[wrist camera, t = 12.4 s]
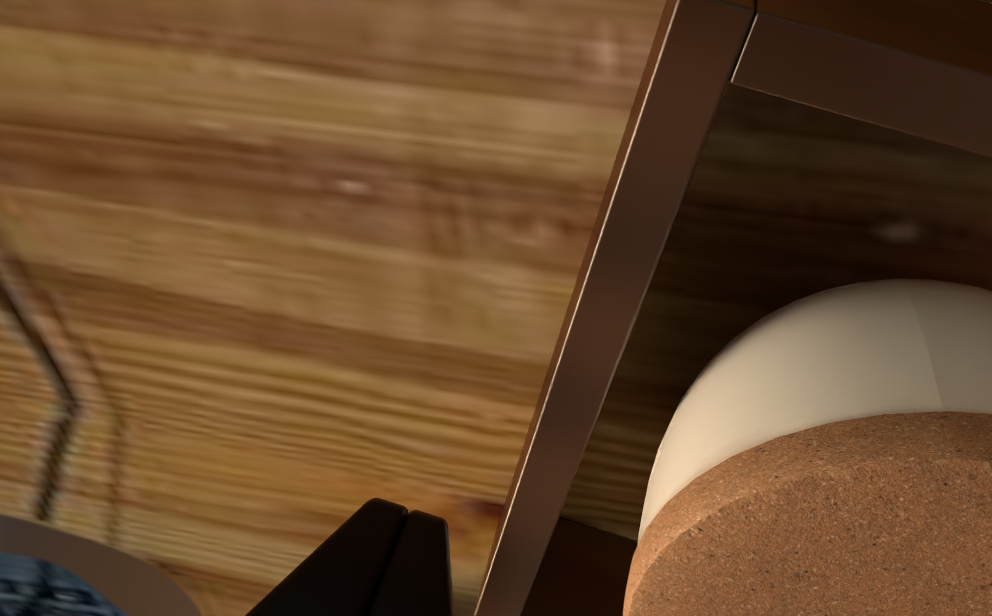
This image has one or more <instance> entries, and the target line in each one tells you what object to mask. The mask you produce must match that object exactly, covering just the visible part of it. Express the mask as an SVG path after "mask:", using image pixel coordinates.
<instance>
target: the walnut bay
mask: <svg viewBox="0 0 992 616" xmlns="http://www.w3.org/2000/svg"><path fill="white" fill-rule="evenodd" d="M729 80H730V83H732V84H734V85H738V86H741V87H745V88H748V89H752V90H755V91H759V92H763V93H766V94H770V95H773V96H777V97H780V98H784V99H787V100H791V101H794V102H798V103H802V104H805V105H809V106H812V107H816V108H819V109H823V110H826V111H830V112H833V113H837V114H841V115H844V116H848V117H851V118H855V119H858V120H862V121H865V122H869V123H872V124H876V125H880V126H883V127H887V128H890V129H894V130H897V131H901V132H904V133H908V134H911V135H915V136H919V137H922V138H926V139H929V140H933V141H936V142H940V143H943V144H947V145H950V146H954V147H958V148H961V149H965V150H968V151H972V152H975V153H979V154H982V155H986V156H989V157H992V4H988V3H985V2H981V1H977V0H667V1H666V5H665V8H664V11H663V14H662V17H661V20H660V23H659V26H658V29H657V33H656V36H655V39H654V42H653V45H652V48H651V51H650V54H649V57H648V60H647V64H646V67H645V70H644V73H643V76H642V79H641V82H640V85H639V88H638V92H637V95H636V98H635V101H634V104H633V107H632V110H631V113H630V116H629V120H628V123H627V126H626V129H625V132H624V135H623V138H622V141H621V144H620V147H619V151H618V154H617V157H616V160H615V163H614V166H613V169H612V172H611V175H610V179H609V182H608V185H607V188H606V191H605V194H604V197H603V200H602V203H601V207H600V210H599V213H598V216H597V219H596V222H595V225H594V228H593V231H592V235H591V238H590V241H589V244H588V247H587V250H586V253H585V256H584V259H583V262H582V266H581V269H580V272H579V275H578V278H577V281H576V284H575V287H574V290H573V294H572V297H571V300H570V303H569V306H568V309H567V312H566V315H565V318H564V322H563V325H562V328H561V331H560V334H559V337H558V340H557V343H556V346H555V349H554V353H553V356H552V359H551V362H550V365H549V368H548V371H547V374H546V377H545V381H544V384H543V387H542V390H541V393H540V396H539V399H538V402H537V405H536V409H535V412H534V415H533V418H532V421H531V424H530V427H529V430H528V433H527V436H526V440H525V443H524V446H523V449H522V452H521V455H520V458H519V461H518V464H517V468H516V471H515V474H514V477H513V480H512V483H511V486H510V489H509V492H508V496H507V499H506V502H505V505H504V508H503V511H502V514H501V517H500V520H499V524H498V527H497V531H496V534H495V538H494V541H493V545H492V548H491V552H490V556H489V559H488V563H487V566H486V570H485V574H484V577H483V581H482V584H481V588H480V592H479V595H478V599H477V602H476V606H475V609H474V613H473V616H623V608H624V599H625V592H626V587H627V582H628V577H629V572H630V567H631V562H632V558H633V554H634V552H635V550H636V548H637V544H638V542H635V541H632V540H628V539H625V538H622V537H619V536H616V535H612V534H609V533H606V532H603V531H599V530H596V529H593V528H590V527H587V526H583V525H580V524H577V523H574V522H571V521H567V520H564V519H561V518H559V516H560V514H561V511H562V509H563V506H564V504H565V501H566V498H567V496H568V493H569V491H570V488H571V486H572V483H573V480H574V478H575V475H576V473H577V470H578V468H579V465H580V463H581V460H582V457H583V455H584V452H585V450H586V447H587V445H588V442H589V439H590V437H591V434H592V432H593V429H594V427H595V424H596V421H597V419H598V416H599V414H600V411H601V409H602V406H603V403H604V401H605V398H606V396H607V393H608V391H609V388H610V386H611V383H612V380H613V378H614V375H615V373H616V370H617V368H618V365H619V362H620V360H621V357H622V355H623V352H624V350H625V347H626V344H627V342H628V339H629V337H630V334H631V332H632V329H633V326H634V324H635V321H636V319H637V316H638V314H639V311H640V309H641V306H642V303H643V301H644V298H645V296H646V293H647V291H648V288H649V285H650V283H651V280H652V278H653V275H654V273H655V270H656V267H657V265H658V262H659V260H660V257H661V255H662V252H663V250H664V247H665V244H666V242H667V239H668V237H669V234H670V232H671V229H672V226H673V224H674V221H675V219H676V216H677V214H678V211H679V208H680V206H681V203H682V201H683V198H684V196H685V193H686V190H687V188H688V185H689V183H690V180H691V178H692V175H693V173H694V170H695V167H696V165H697V162H698V160H699V157H700V155H701V152H702V149H703V147H704V144H705V142H706V139H707V137H708V134H709V131H710V129H711V126H712V124H713V121H714V119H715V116H716V113H717V111H718V108H719V106H720V103H721V101H722V98H723V96H724V93H725V90H726V88H727V85H728V83H729Z"/></svg>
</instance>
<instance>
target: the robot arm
mask: <svg viewBox="0 0 992 616" xmlns="http://www.w3.org/2000/svg"><path fill="white" fill-rule="evenodd" d="M245 616H454V609H453V594H452V579H451V564H450V549H449V534H448V525H447V522H446V521H445V520H444V519H443V518H441V517H438V516H434V515H431V514H428V513H425V512H422V511H418V510H414V511H411V512H410V513H409V514H408V509H407V508H406V507H404V506H402V505H399V504H396V503H393V502H390V501H387V500H383V499H380V498H373V499H371V500H369V501H368V502H366V503H365V504H364V505H363V506H362V507H361V508H360V509H359V510H358V511H356V512H355V513H354V514H353V515H352V516H351V517H350V518H349V519H348V520H347V521H346V522H345V523H344V524H343V525H342V526H340V527H339V528H338V529H337V530H336V531H335V532H334V533H333V534H332V535H331V536H330V537H329V538H328V539H327V540H325V541H324V542H323V543H322V544H321V545H320V546H319V547H318V548H317V549H316V550H315V551H314V552H313V553H312V554H311V555H309V556H308V557H307V558H306V559H305V560H304V561H303V562H302V563H301V564H300V565H299V566H298V567H297V568H296V569H294V570H293V571H292V572H291V573H290V574H289V575H288V576H287V577H286V578H285V579H284V580H283V581H282V582H281V583H280V584H278V585H277V586H276V587H275V588H274V589H273V590H272V591H271V592H270V593H269V594H268V595H267V596H266V597H265V598H263V599H262V600H261V601H260V602H259V603H258V604H257V605H256V606H255V607H254V608H253V609H252V610H251V611H250V612H249V613H247V614H246V615H245Z"/></svg>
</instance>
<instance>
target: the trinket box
mask: <svg viewBox="0 0 992 616" xmlns="http://www.w3.org/2000/svg"><path fill="white" fill-rule="evenodd" d="M623 616H992V291H990V290H986V289H983V288H979V287H975V286H970V285H966V284H959V283H952V282H945V281H938V280H931V279H887V280H877V281H866V282H859V283H854V284H849V285H845V286H840V287H836V288H831V289H827V290H824V291H821V292H818V293H815V294H812V295H809V296H807V297H804V298H801V299H798V300H795V301H793V302H791V303H789V304H787V305H785V306H783V307H781V308H779V309H778V310H776V311H774V312H772V313H770V314H768V315H766V316H765V317H763V318H762V319H760V320H758V321H757V322H756V323H754V324H753V325H751V326H750V327H748V328H747V329H746V330H744V331H743V332H741V333H740V334H738V335H737V336H736V337H734V338H733V339H731V340H730V341H729V342H728V343H727V344H726V345H725V346H724V347H723V348H722V349H721V350H720V351H719V352H718V353H717V354H716V355H715V356H714V357H713V358H712V359H711V360H710V361H709V362H708V364H707V365H706V366H705V367H704V369H703V370H702V371H701V372H700V374H699V375H698V376H697V378H696V379H695V380H694V382H693V383H692V384H691V386H690V387H689V389H688V390H687V391H686V393H685V394H684V396H683V397H682V398H681V401H680V403H679V405H678V407H677V409H676V411H675V414H674V416H673V418H672V420H671V422H670V424H669V427H668V429H667V431H666V433H665V435H664V438H663V440H662V442H661V444H660V446H659V449H658V452H657V455H656V459H655V462H654V465H653V469H652V472H651V475H650V479H649V483H648V488H647V493H646V498H645V502H644V508H643V513H642V519H641V525H640V531H639V536H638V544H637V548H636V550H635V552H634V554H633V558H632V562H631V567H630V572H629V577H628V582H627V587H626V592H625V599H624V608H623Z"/></svg>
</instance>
